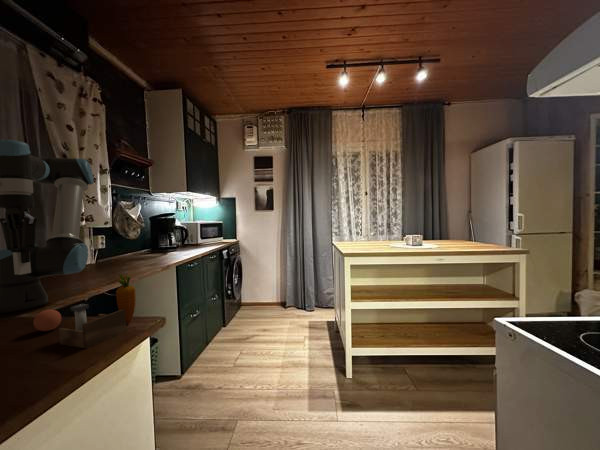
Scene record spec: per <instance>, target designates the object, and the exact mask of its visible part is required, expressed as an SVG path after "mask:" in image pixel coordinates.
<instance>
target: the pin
mask: <svg viewBox="0 0 600 450" xmlns="http://www.w3.org/2000/svg"><path fill="white" fill-rule="evenodd" d="M87 309H90V304H87V303H80V304H76V305H73V306H70V311H72V312H74V323H75V330H81V331H83V328H82V324H84V323H87V322H88V321H87V311H86V310H87Z"/></svg>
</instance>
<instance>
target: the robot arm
mask: <svg viewBox="0 0 600 450" xmlns="http://www.w3.org/2000/svg"><path fill="white" fill-rule="evenodd" d="M94 179H95V178H94V173H93V170H92V166H91V163H90V162H89V161H88V160H87V159H85V158H78V157H75V158H71V157H70V158H69V157H68V158H66V157H37V156H35V155H33V154H32V153H31V150H30V146H29V144H28V143H26V142H24V141H20V140H14V139H0V209H5V212H4V217H3V218H1V217H0V224H1V227H2V232H3V237H4V242H5V246H6V247H5V248H0V314H6V313H13V312H19V311H24V310H29V309H32V308H33V309H34V308H37V307H39V306H42V305H43V306H44V305H45V304H47V303H48V302H49V296H48V294H47V292H46V290H45V288H44V287H43V285H42V283H41V278H42V277H52V276H62V275H63V276H64V275H70V274H78V273H80V272H82V271H83V270H84V269H85V267H86V266H87V263H88V258H89V253H88V252H89V249H88V245H87V244H86V243H84V240H82V239H81V238H80V230H81V221H82V218H81V217H82V210H83V209H82V208H83V199H84V198H83V196H84V192H85V191H87V190H88V188H89V185H93V184H94V181H95V180H94ZM34 183H36V184H42V185H44V184H45V185H54V187H56V188H57V195H56V204H55V209H54V216H53V217H54V218H53V225H52V226H53V227H52V232H51V237H49V238H47V239H46V241H45V246H44V245H43V246H39V244H37V243H36V225H37V222H38V221H37V220H38V217H37V216H32V215H31V211H30V209H31V208H34V207H35V198H34V197H35V196H33V193H34V185H33V184H34Z"/></svg>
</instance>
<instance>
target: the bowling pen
mask: <svg viewBox="0 0 600 450" xmlns="http://www.w3.org/2000/svg"><path fill="white" fill-rule="evenodd" d="M97 316H98V318H97V317H96V318H94V319H92V320H89V321H87V323H84V324H82V328H83V331H81V330H76V329H72V328H66V327H65V328H64V327H60V328H58V334H59V335H58V337H59V344H60V345H63V346H68V347H69V346H70V347H75V348H82V349H90V348H91V347H94V346H95V345H98V344H100V343H102V342H104V341H107V340H110V339H111V338H113V337H115V336H118V335H119V334H122V333H124V332H126V331H127V324H126V318H125V309H121V310H119V309H118V310H116V311H114V312H112V313H108V314H105V313H104V314H103V313H99V314H98V315H97Z"/></svg>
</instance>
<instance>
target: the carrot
mask: <svg viewBox="0 0 600 450" xmlns="http://www.w3.org/2000/svg"><path fill="white" fill-rule="evenodd" d="M119 278H120V279H118V283H119V285H121V286H120V287H118V288H117V289H116V291H115V296H116V297H115V298H116V304H117V305H116V306H117V308H118V311H119V310H121V309H125V318H126V325H130V324H131V321H132V319H133V317H134V313H135V310H136V309H135V308H136V302H137V301H136V299H137V298H136V287H135V286H133V285H129V284H130V280H131V278H132V277H131V276H130V275H126V276H125V277H124V275H123V274H119Z"/></svg>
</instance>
